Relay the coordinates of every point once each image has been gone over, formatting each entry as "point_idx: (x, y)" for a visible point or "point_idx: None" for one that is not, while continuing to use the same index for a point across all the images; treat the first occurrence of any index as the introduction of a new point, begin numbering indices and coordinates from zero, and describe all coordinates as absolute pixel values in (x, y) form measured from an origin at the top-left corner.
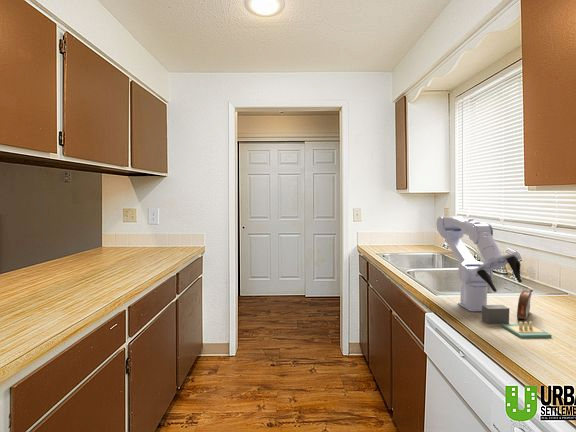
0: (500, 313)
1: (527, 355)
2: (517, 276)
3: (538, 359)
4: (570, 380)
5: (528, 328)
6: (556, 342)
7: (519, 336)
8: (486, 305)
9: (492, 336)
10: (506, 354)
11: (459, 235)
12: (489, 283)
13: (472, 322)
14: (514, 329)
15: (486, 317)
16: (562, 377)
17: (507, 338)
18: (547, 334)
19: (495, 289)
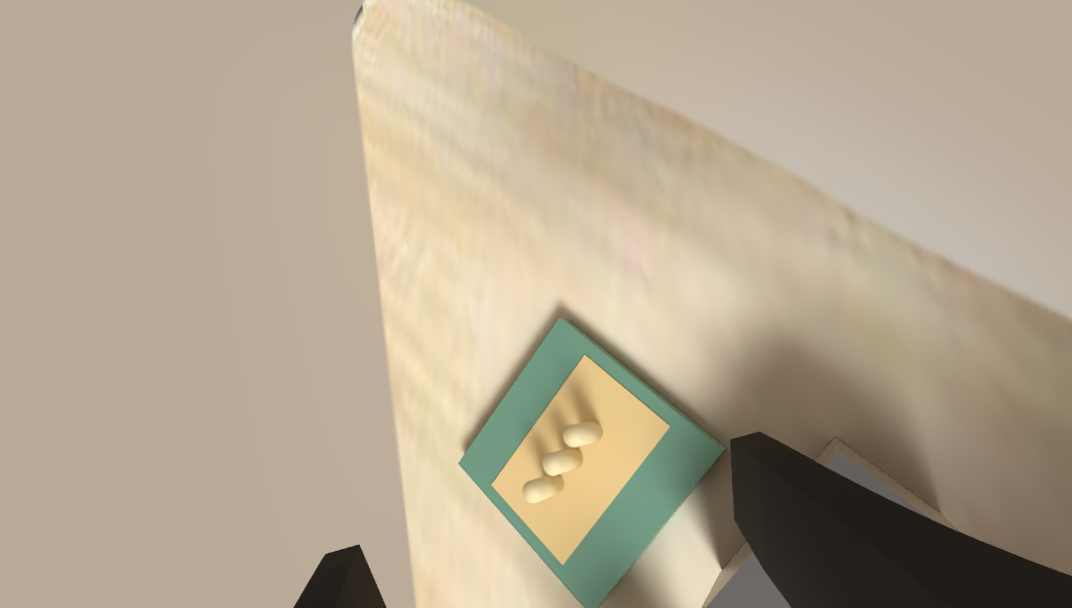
0: None
1: (483, 122)
2: (309, 584)
3: (446, 125)
4: (355, 61)
5: (566, 485)
6: (440, 402)
7: (573, 324)
8: None
9: (685, 203)
10: (542, 46)
11: None
12: (834, 489)
13: (959, 370)
14: (618, 393)
15: (866, 463)
16: (372, 58)
17: (613, 249)
18: (472, 453)
19: (741, 501)
